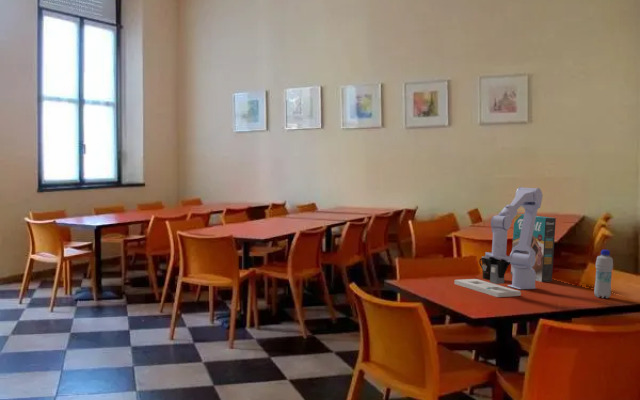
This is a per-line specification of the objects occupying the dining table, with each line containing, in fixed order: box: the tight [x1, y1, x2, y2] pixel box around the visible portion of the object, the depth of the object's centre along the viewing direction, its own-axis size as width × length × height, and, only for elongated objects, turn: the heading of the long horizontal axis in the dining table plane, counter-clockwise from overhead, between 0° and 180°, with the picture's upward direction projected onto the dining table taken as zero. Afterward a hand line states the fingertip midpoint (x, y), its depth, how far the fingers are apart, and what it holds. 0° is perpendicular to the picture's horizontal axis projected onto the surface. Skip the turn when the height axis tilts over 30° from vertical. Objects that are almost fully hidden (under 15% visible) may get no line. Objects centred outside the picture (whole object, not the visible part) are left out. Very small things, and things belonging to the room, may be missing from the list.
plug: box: [489, 264, 505, 285], centre depth 256 cm, size 4×4×8 cm
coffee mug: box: [478, 255, 497, 281], centre depth 292 cm, size 12×9×10 cm
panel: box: [454, 278, 522, 298], centre depth 262 cm, size 12×28×2 cm, turn 25°
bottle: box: [593, 249, 614, 299], centre depth 256 cm, size 7×7×20 cm
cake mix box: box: [510, 213, 557, 283], centre depth 298 cm, size 22×6×30 cm, turn 22°
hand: (497, 276), depth 256 cm, fingers closed on plug, 4 cm apart
